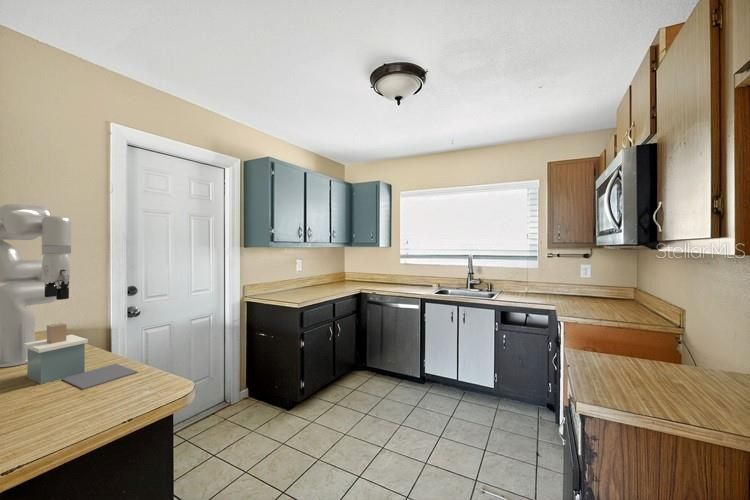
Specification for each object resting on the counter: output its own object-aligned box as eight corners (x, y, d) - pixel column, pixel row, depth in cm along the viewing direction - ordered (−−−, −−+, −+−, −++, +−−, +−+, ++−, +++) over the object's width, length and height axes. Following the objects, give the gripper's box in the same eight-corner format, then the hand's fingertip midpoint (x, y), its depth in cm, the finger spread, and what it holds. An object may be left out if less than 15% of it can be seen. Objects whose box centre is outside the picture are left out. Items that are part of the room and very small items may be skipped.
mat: (61, 379, 111) (61, 378, 111) (115, 364, 125) (115, 363, 125) (83, 389, 104) (83, 388, 104) (137, 372, 118) (137, 371, 118)
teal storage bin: (27, 377, 112) (27, 346, 112) (70, 366, 123) (70, 338, 123) (41, 384, 107) (40, 351, 107) (84, 372, 118) (84, 342, 117)
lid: (23, 349, 112) (23, 326, 112) (71, 340, 124) (71, 319, 123) (38, 355, 106) (38, 331, 106) (87, 345, 118) (87, 323, 118)
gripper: (32, 250, 115) (32, 297, 115) (52, 251, 107) (52, 301, 107) (60, 250, 121) (60, 294, 122) (81, 251, 114) (81, 298, 114)
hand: (56, 297), depth 114 cm, fingers open, 9 cm apart
